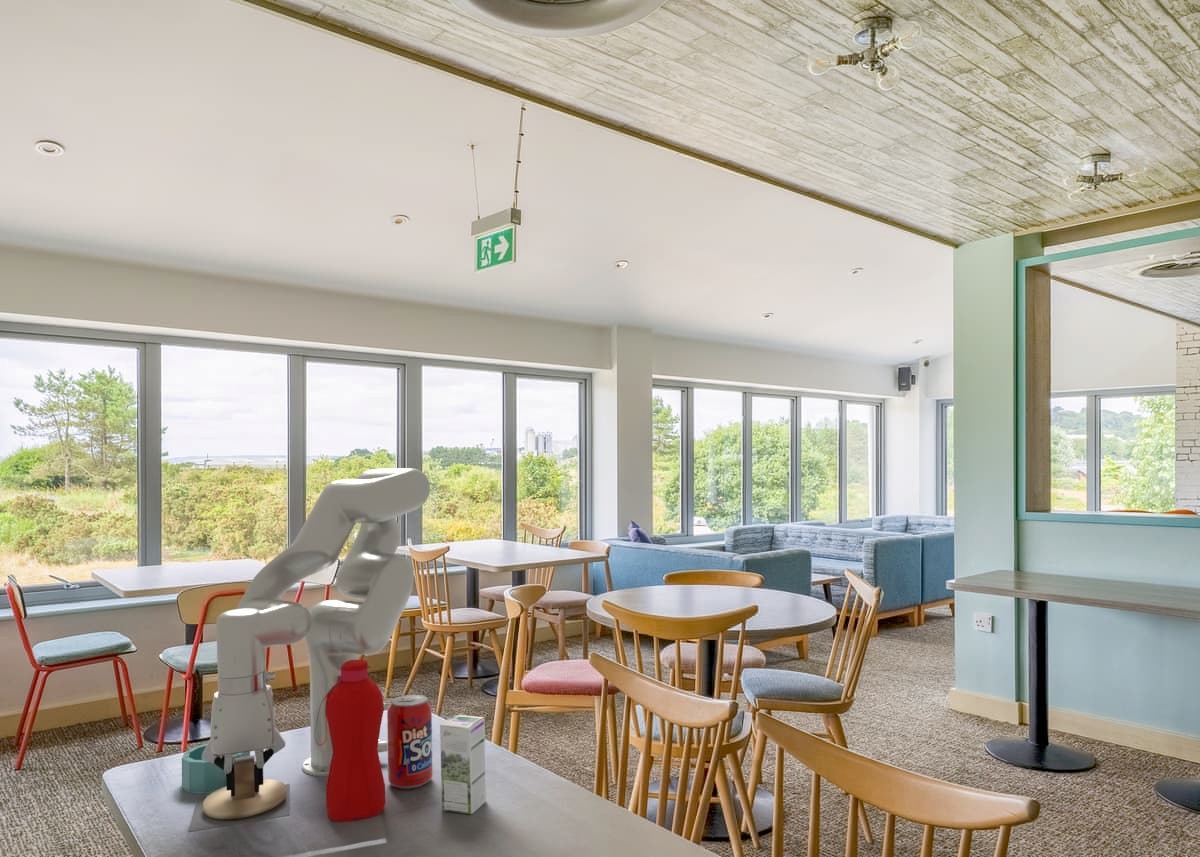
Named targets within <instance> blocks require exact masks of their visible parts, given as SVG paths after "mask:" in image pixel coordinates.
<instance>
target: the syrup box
mask: <svg viewBox="0 0 1200 857" xmlns="http://www.w3.org/2000/svg"><path fill="white" fill-rule="evenodd" d="M485 728H486V727H485V717H483V716H474V715H465V714H464V715H463V714H462V715H461V714H454V715H452V716H450V717H448V718H447V719H446V720H444V721H442V723H440V725H439V732H440V733H439V734H440V735H439V739H440V776H441V777H440V780H441V781H440V783H441V786H440V787H441V810H442V811H444V812H451V813H458V814H464V815H465V814H466V815H473V814H474V813H475V812H477V811H478V809H479V808H481V807H482V806H483V805H484V804H485V803H486V802H487V786H486V785H487V784H486V736H485V735H486V733H485V732H486V730H485Z"/></svg>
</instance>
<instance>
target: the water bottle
mask: <svg viewBox="0 0 1200 857" xmlns="http://www.w3.org/2000/svg"><path fill="white" fill-rule="evenodd" d="M368 662H369V661H367V660H365V659H359V660H349V661H347V662H345V663H343V664H342V665H341V676H338V677H339V680H337V683H336V684H335V685H334V686H333V687H332V688H331V689H330V690H329V692H328V694H327V695H326V696H327V700H326V707H325V716H326V717H327V722H328V726H329V732H330V737H331V743H332V749H333V755H332V760H331V765H330V770H329V775H328V776H327V781H326V789H325V790H326V792H325V793H326V797H325V802H326V805H325V807H326V812H327V816H328V818H329V819H330V820H331V821H332V822H337V823H345V822H347V823H348V822H352V821H356V820H363V819H369V818H373V817H376V816H378V815H380V814H381V813H383V811H384V809H385V806H386V784H385V778H384V773H383V769H382V764H381V760H380V756H379V753H378V750H377V749H378V742H379V739H380V733H381V725H382V721H383V717H384V711H385V705H384V697H383V696H384V695H383V693H382V691H381V689H380V688H379V686H378V684H377V683H376V681H374V680H373V679H371V678H369V675H368V674H369V673H368V672H369V671H368V670H369V668H372V666H371V665H369V664H368ZM338 677H337V679H338ZM326 696H325V698H326ZM325 698H324V699H325ZM324 699H323V700H324ZM323 700H322V702H323ZM322 702H321V704H322ZM320 707H321V705H320ZM319 711H320V708H319ZM318 715H319V712H318ZM317 719H318V716H317ZM316 724H317V720H316ZM315 731H316V726H315ZM326 735H327V726H326ZM325 740H326V738H325ZM315 741H316V738H315ZM324 742H325V741H324ZM324 742H323V743H322V744H318V743H317V742H316V743H317V744H318V745H323V744H324Z"/></svg>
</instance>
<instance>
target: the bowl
mask: <svg viewBox="0 0 1200 857" xmlns="http://www.w3.org/2000/svg"><path fill="white" fill-rule="evenodd" d="M207 744H208V742H207V743H204V744H201V745H200V744H199V745H197V746H194V747H192V748H191V749H189V750H186V751H185V752H183V755H182V758H181V787H182V789H183V790H184V792H187V793H190V794H196V795H197V794H202V795H203V794H211V793H213V792H215V791H217V790H219V789H221V788H223V787H226V786H227V785H226V773H225V772H224V770H222V769H221V768H219V767H218V766H217V765H215V764H214V763H210V762H207V761H204V760H202V758H201V757H202V754H203V752H204V750H205V748H206V746H207ZM222 756H223V757H225V755H222ZM247 756H251V751H250V752H243V753H237V754H233V764H234V763H235V758H240V757H247Z"/></svg>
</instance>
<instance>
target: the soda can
mask: <svg viewBox="0 0 1200 857" xmlns="http://www.w3.org/2000/svg"><path fill="white" fill-rule="evenodd" d="M428 699H429V697H427V696H426V695H423V694H406V695H401V696H397V697H395V698H393V699H391V701H390V703H391V704H390V706H389V707H388V709H387V713H386V715H387V716H386V717H387V718H386V720H387V722H386V723H387V724H386V725H387V726H386V727H387V729H386V730H387V745H388V751H387V780H388V783H389V784H390V785H391V786H393V787H395V788H397V789H399V790H400V789H401V790H412V789H417V788H421V787H423V786H424V785H425V784H427V783H428V782H430V780H432V778H433V775H434V774H433V773H434V770H433V768H434V767H433V716H432V715H433V714H432V712H433V711H432V704H430V702H429V701H428Z"/></svg>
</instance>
